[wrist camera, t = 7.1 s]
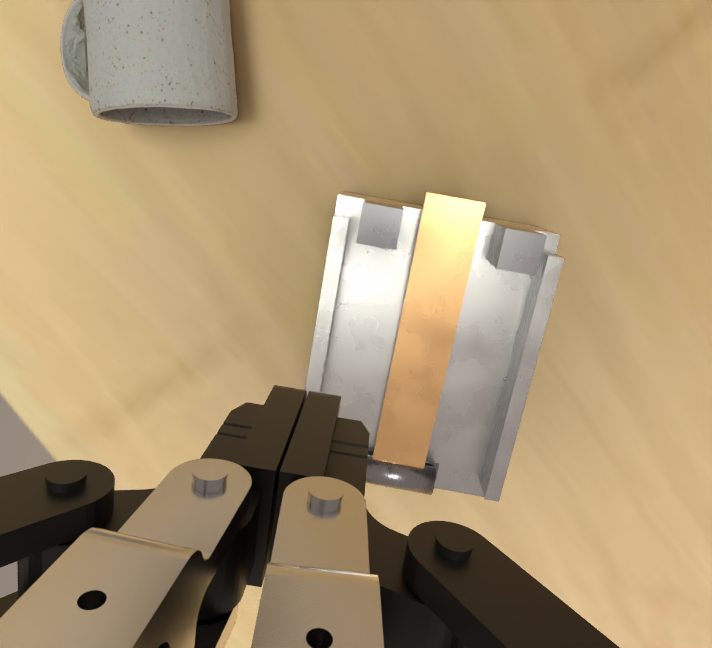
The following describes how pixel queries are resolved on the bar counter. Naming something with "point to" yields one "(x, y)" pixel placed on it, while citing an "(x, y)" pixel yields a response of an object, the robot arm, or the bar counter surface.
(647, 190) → the bar counter surface
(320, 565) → the robot arm
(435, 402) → the strap
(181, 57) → the ceramic mug
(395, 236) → the block
